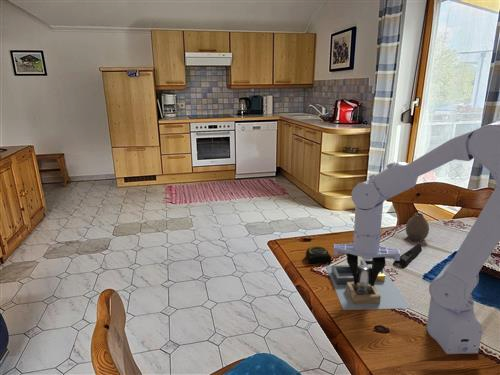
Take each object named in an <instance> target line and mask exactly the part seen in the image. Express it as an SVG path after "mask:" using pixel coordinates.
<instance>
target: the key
mask: <svg viewBox="0 0 500 375" xmlns="http://www.w3.org/2000/svg"><path fill="white" fill-rule="evenodd" d="M368 266H370V267H371V268H372V264H368ZM379 281H385V275H384V273H381V272H380V273H379V274H378V276H377V278H376V281H375V282H379Z"/></svg>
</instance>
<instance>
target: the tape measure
mask: <svg viewBox="0 0 500 375" xmlns="http://www.w3.org/2000/svg"><path fill="white" fill-rule="evenodd" d="M305 260H306V261H307V264H308V265H321V264H332V256H331V254H330V253H329V250H328V249H326V248H325V247H324V246H323V247H322V246H318V245H317V246H310V247H308V248H307V249H306V251H305Z"/></svg>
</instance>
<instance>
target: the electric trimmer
mask: <svg viewBox="0 0 500 375" xmlns="http://www.w3.org/2000/svg"><path fill="white" fill-rule="evenodd" d="M422 251H423V248H422V245H421V244H420V243H417V244H415V245H414V246H412V248H409V250H407V251H406V252H404V253H402V254H400V261H395V260H394V261H393V262H392V265H393V266H396V267H397V268H398V267H399V268H401V269H406V268H407V265H409V263H410V262H412V261H413V260H416V258H417V257H418V256H419V255H420V254H421V253H422Z"/></svg>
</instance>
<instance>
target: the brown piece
mask: <svg viewBox="0 0 500 375" xmlns="http://www.w3.org/2000/svg"><path fill="white" fill-rule="evenodd" d="M356 285H357V284H354V282H347V291H348V293H349V295H350V298H351V300H352V302H353V304H380V299H381V296H380V294H379V293H378V291H377V289H376V288H375V286H370V293H371V295H356V293H355V291H356Z"/></svg>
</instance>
